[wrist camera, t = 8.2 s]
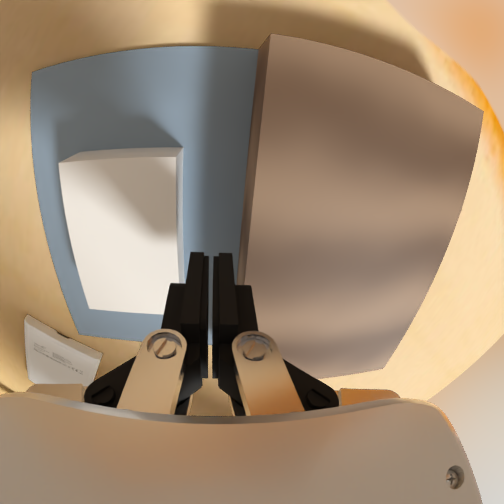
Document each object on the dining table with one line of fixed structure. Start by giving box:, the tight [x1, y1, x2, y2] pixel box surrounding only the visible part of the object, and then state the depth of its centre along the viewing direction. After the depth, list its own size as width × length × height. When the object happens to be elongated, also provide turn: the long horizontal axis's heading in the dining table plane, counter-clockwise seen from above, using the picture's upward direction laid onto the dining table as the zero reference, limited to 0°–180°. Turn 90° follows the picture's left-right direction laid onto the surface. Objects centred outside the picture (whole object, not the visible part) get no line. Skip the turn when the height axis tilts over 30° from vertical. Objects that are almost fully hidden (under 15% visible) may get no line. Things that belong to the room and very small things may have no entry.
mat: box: [31, 46, 258, 345], centre depth 15 cm, size 20×13×1 cm, turn 174°
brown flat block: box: [236, 34, 484, 379], centre depth 15 cm, size 20×12×4 cm, turn 174°
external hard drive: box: [24, 314, 103, 386], centre depth 22 cm, size 2×8×12 cm
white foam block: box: [58, 147, 185, 315], centre depth 14 cm, size 9×6×2 cm, turn 174°
